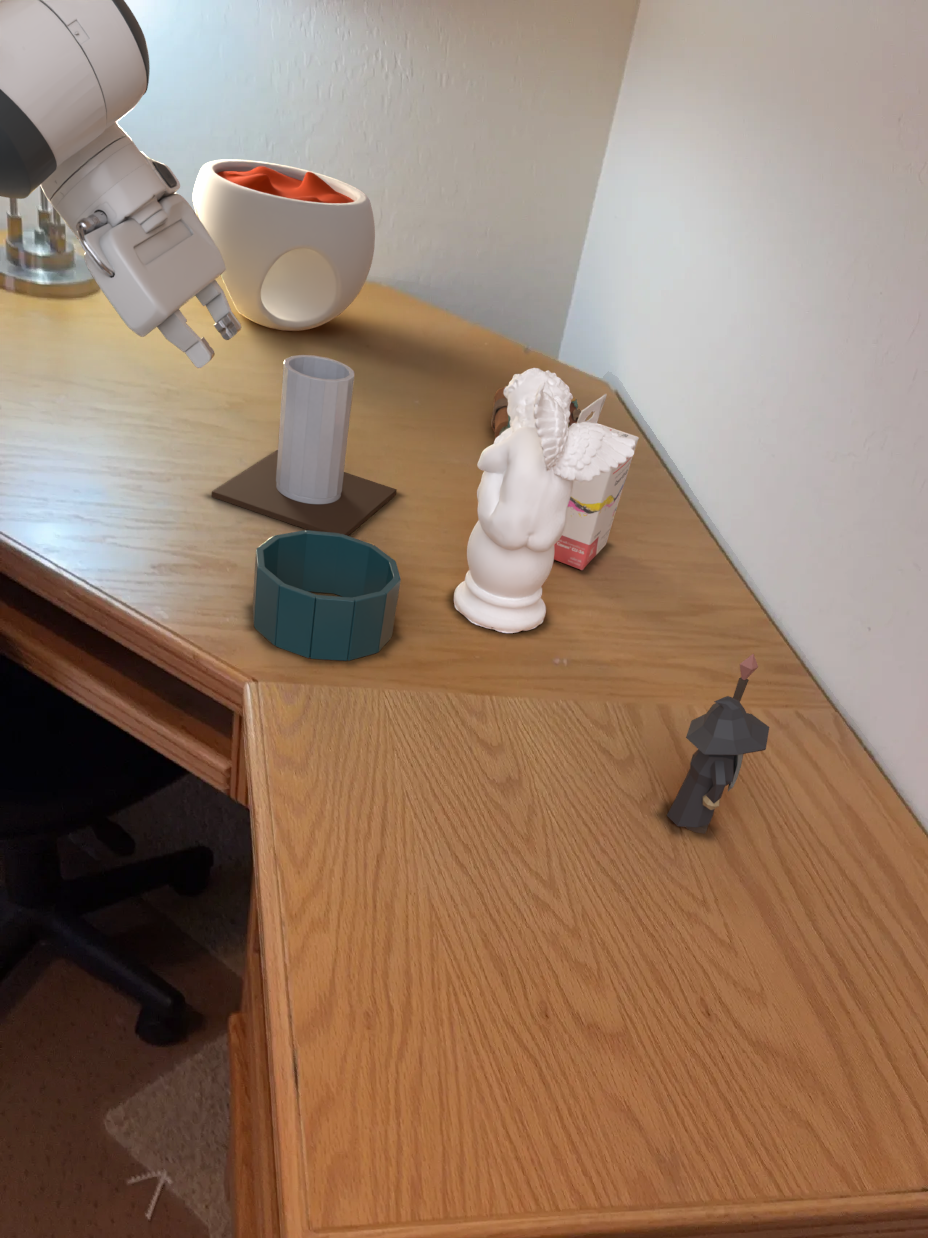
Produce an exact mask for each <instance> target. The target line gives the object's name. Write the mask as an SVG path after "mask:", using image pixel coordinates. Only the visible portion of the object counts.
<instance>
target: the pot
mask: <svg viewBox="0 0 928 1238" xmlns="http://www.w3.org/2000/svg"><path fill="white" fill-rule="evenodd" d="M192 202H193V203H192V204H193V210H194V212H195V213H196V215H197V216H198V218H199V219H200V221H201V222H202V224H203V225H204V227H205V228H206V230H207V231H208V233H209V235H210V236H211V238H212V239H213V241H214V243H215V244H216V246H217V247H218V249H219V251H220V253H221V255H222V258H223V260H224V263H225V267H226V270H225V272H223V273H222V274H221V275H220V278H221V280H222V283H223V284H224V287H225V289H226V291H227V294H228V295H229V297H230V299H231V301H232V303H233V306H234V308H235V309H236V311H237V313H238V314H240V315H241V316H242V317H245V318H246V319H248V320H249V321H251V322H253V323H255V324H257V325H260V326H262V327H266V328H269V329H272V330H278V331H286V332H287V331H288V332H300V331H306V330H310V329H314V328H318V327H321V326H323V325H325V324H327V323H329V322H331V321H332V320H334V319H335V318H337V317H338V316H340V315H341V314H342V313H343V312H345V311H346V310H347V309H348V308H349V306H350V305H352V304H353V302H354V301H355V299H356V298H357V297H358V295H359V294H360V292H361V291H362V289H363V287H364V286H365V283H366V281H367V278H368V276H369V273H370V270H371V267H372V264H373V259H374V253H375V245H376V228H375V217H374V212H373V208H372V202H371V201H370V197H369V196H368V195H367V194H366V193H365V192H363V191H362V190H360V189H359V188H357V187H355V186H354V185H351V184H350V183H347V182H344V181H342V180H340V179H337V178H335V177H331V176H328V175H325V174H322V173H319V172H315V171H312V170H308V169H304V168H299V167H295V166H291V165H285V164H279V163H274V162H268V161H267V162H266V161H259V160H250V159H233V158H232V159H229V158H228V159H216V160H211V161H208V162H206V163H204V164H203V165H202V166H201V168H200V169H199V171H198V174H197V176H196V180H195V183H194V186H193V191H192Z"/></svg>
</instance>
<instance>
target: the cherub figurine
mask: <svg viewBox="0 0 928 1238" xmlns="http://www.w3.org/2000/svg"><path fill="white" fill-rule="evenodd" d="M507 385H508V386H507V387H506V386H504V387H505V389H504V396H505V397H506V398H507V399H508V407H507V413H508V415H509V416H510V418H511V420H510V428H508V429H506V430H505V431H504V432H502V433H501V435H499V436H498V437H497V438H496V439H495V438H494V441H493V444H491V445H488V446H487V447H486V448H484V449H483V450H482V452H481V454H480V456H479V459H478V461H477V465H476V466H477V469H479V470H480V471H483V472H482V475H481V479H480V482H479V485H478V487H477V490H476V499H477V518H478V520H477V522H476V523H475V525H474V527H473V528H472V530H471V533H470V534H469V538H468V540H467V547H466V560H467V565H468V570H467V572H466V574H465V576H464V580H463V581H461V582H460V583H459V584H457V586H456V588H455V590H454V593H453V603H454V604H453V605H454V608H455V610H456V611H458V612H459V613H460V614H461V615H463V616H464V617H465V618H466V619H467V620H468V621H469V622H470V623H472V624H474V625H475V626H480V627H483V628H485V629H490V630H495V631H497V632H499V633H503V634H513V633H514V634H515V633H519V632H521V631H523V632H525V631H526V632H527V631H530V630H533V629H536V628H537V627H538V626H539V625H541V624H543V623H544V620H545V617H546V613H547V606H546V603H545V601H544V600H543V598H542V596H543V587H542V586H543V585H544V584H545V582H546V581H547V579H548V578H549V576H550V574H551V571H552V569H553V566H554V561H555V560H554V551H555V550H554V544H555V543H556V542H557V541H558V540H559V539H560V538H561V536H562V534H563V531H564V528H565V524H566V514H567V507H568V503H569V500H570V497H571V493H572V489H573V483H574V479H575V480H576V481H577V482H580V483H581V482H583V481H587V482H589V481H591V480H592V479H593V476H599V475H600V472H602V473H607V472H609V471H610V468H613V469H614V468H617V467H618V464H623V463H625V462H626V460H627V459H626V458H629V457H632V456H633V457H634V455H635V451H634V450H633V449H632V448H633V447H634V446H635V440H633V439H629V438H625V437H619V436H618V435H619V434H617V433H614V432H612V431H610V430H608V429H607V428H606V427H603V425H604V424H602V425H601V423H598V422H597V423H590V422H586V420H585V421H584V422H581V423H577V424H576V423H573V424H572V425H571V426H570V427H569V428H568V423H569V422H570V421H569V416H570V411H569V409H570V408H569V406H570V404H571V400H572V399H573V397H574V396H573V394H572V392H571V390H570V389H571V388H570V386H569V385H568V384H566V383H565V381H564V380H562V379H561V377H559V376H558V375H557V373H555V372H551V371H550V370H549V369H547V370H545V371H544V370H543V369H541V368H539V367H533V368H529V369H526V370H524V371H523V372H522V373H515V374H513V376H512V379H511V380H509V382H508V384H507ZM633 457H632V458H633Z"/></svg>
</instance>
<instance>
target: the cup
mask: <svg viewBox="0 0 928 1238" xmlns="http://www.w3.org/2000/svg"><path fill="white" fill-rule="evenodd" d="M282 369H283V370H282V381H281V382H282V383H281V399H280V412H279V414H280V415H279V428H278V430H279V431H278V442H277V443H278V444H277V450H278V458H277V473H276V487H277V489H278V491H279V492H280V493H281V494H283V495H284V496H286V497H288V498H290V499H292V500H295V501H298V502H303V503H308V504H328V503H332V502H335V501H337V500H338V499H339V498H340V497H341V494H342V485H343V476H344V472H345V467H346V456H347V447H348V438H349V428H350V422H351V421H350V419H351V410H352V400H353V394H354V393H353V391H354V383H355V371H354V370H353V368H351V367H350V366H349V365H347V364H345V363H343V362H341V361H338V360H335V359H333V358H329V357H324V356H319V355H313V354H312V355H311V354H298V355H292V356H289V357H286V358H285V359H284V361H283V368H282Z"/></svg>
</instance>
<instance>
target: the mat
mask: <svg viewBox="0 0 928 1238" xmlns="http://www.w3.org/2000/svg"><path fill="white" fill-rule="evenodd" d="M277 458H278V449H276V450H274V451H273V452H271V453H269V454H268V455H266V456H265V457H263V458H262V459H260V460H259V461H257V462H255V463H254V464H253V465H251V466H249V467H248V468H246V469H244V470H243V471H241V472H240V473H238V474H236V475H235V476H234V477H232V478H231V479H229V480H227V481H226V482H224V483H222V484H221V485H219V486H217V488H215V489H213V490H212V491H211V498H213V499H217V500H219V501H222V502H225V503H229V504H231V505H233V506H237V507H240V508H243V509H246V510H249V511H252V512H254V513H258V514H260V515H263V516H266V517H268V518H272V519H275V520H278V521H280V522H284V523H287V524H289V525H293V526H296V527H299V528H301V529H304V530H309V531H320V532H330V533H340V535H341V534H344V535H347V536H350V535H351V534H352V533H353V532H354V531H356V530H357V529H358V528H359V527H361V526H362V525H363V524H364V523H365V522H367V521H368V519H370V518H372V516H373V515H374V514H376V513H377V512H378V511H379V510H380V509H381V508H382V507H384V505H386V504H387V503H389V501H391V500H392V499H393V498H394V497H395V496H396V495H397V490H398V489H396V488H394V487H390V486H387V485H386V484H385V485H384V484H381V483H378V482H376V481H373V480H370V479H366V478H363V477H361V476H357V475H354V474H352V473H349V472H346V471H344V476H343V485H342V494H341V497H340V498H339V499H338V500H337V501H335V502H332V503H328V504H308V503H303V502H298V501H295V500H292V499H290V498H288V497H286V496H284V495H283V494H281V493H280V492H279V491H278V489H277V487H276V473H277Z"/></svg>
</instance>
